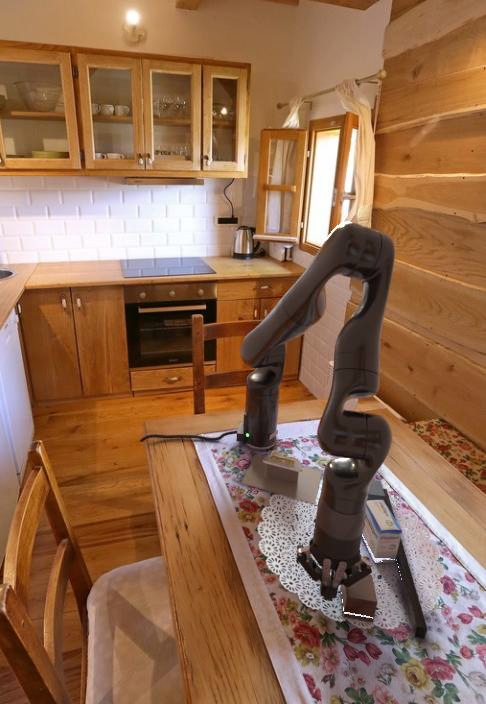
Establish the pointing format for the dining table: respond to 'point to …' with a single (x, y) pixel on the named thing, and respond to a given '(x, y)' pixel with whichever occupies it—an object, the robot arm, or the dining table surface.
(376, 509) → the medicine box
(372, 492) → the slate block
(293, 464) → the platform
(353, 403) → the air dust blower
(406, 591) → the straightedge
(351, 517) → the robot arm
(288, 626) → the dining table surface
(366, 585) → the walnut block
